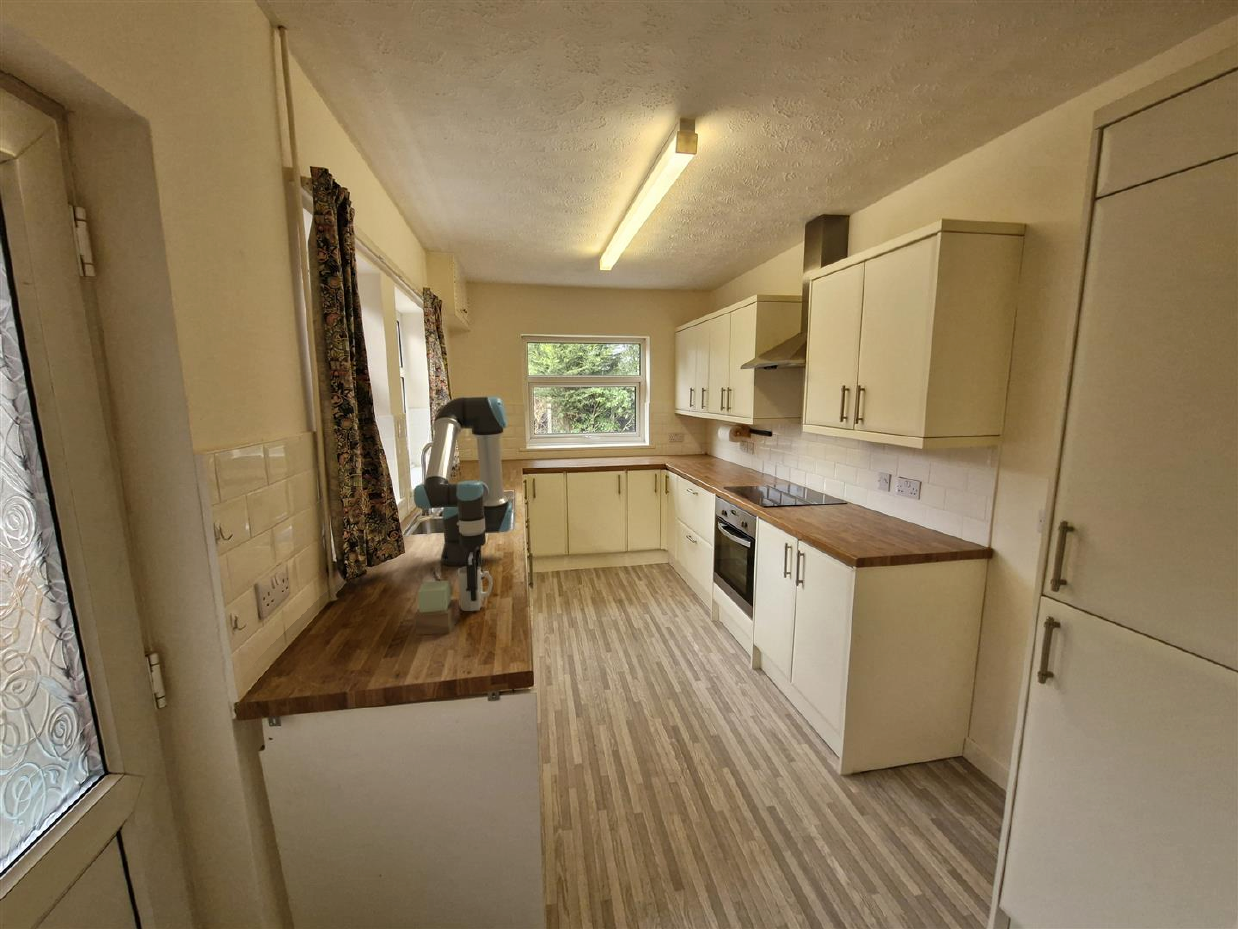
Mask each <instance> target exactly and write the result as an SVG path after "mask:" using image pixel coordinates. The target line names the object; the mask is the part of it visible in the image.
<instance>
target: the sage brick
mask: <svg viewBox="0 0 1238 929" xmlns="http://www.w3.org/2000/svg"><path fill="white" fill-rule="evenodd" d="M451 591H452V590H451V580H450V579H448V580H435V581H434V580H433V581H424V582H423V584H422V585H421V586H420V587H419V589H418V590H417V598H418V610H419V612H420V613H423V612H436V611H446V610H447V608H448V606H449V604H450V602H451V600H452V592H451Z"/></svg>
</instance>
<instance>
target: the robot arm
mask: <svg viewBox="0 0 1238 929" xmlns="http://www.w3.org/2000/svg"><path fill="white" fill-rule="evenodd" d="M507 427H508V420H507V413H506V408H505V404H504V400H503V399H502V398H500V397H496V396H470V397H464V396H463V397H462V396H461V397H457V398H456V397H455V398H454V399H451V400H450V401H449V402H447V403H445V404H444V405H443V406H442V407H441V408H440V409H439V411H438V412H437V413H436V415H435V418H434V421H433V426H432V428H433V430H434V436H433V440H432V443H431V444H432V445H431V450H430V455H429V459H428V464H427V469H426V474H425V478H424V483H423V484H418V485H416V486H415V488H414V490H413V500H414V501H413V502H414V504H415V506H416V507H417V508H418V509H427V510H428V509H429V510H432V509H442V517H441V518H442V525H443V526H442V527H443V539H444V540H443V541H444V544H443V548H442V552H441V554H440V563H441V564H442V565H443V566H449V567H459V566H460V567H461V566H462V567H463V566H465V567H466V570H467V589H466V591H469V601H470V611H469V612H475V611H480V609H481V608H480V605H479V589H478V573H477V567H478V566H479V567H480V568H481V573H484V571H483V562H482V546H483V547H484V546H485V545H486V542H487V541H486V540H487V539H486V535H487V534H499V533H507V532H509V531H510V529H511V525H512V518H513V517H512V516H513V515H512V514H513V503H512V502H509V498H508V497H507V496H505V491H504V478H503V466H502V465H503V464H502V463H503V462H502V451H501V450H502V448H501V436H502V434H503V433H504V429H506V428H507ZM465 429H466V430H471V435H472V436H474V437H475V439H476V448H477V459H478V462H477V463H478V472H479V480H463V481H460V482H458V483H450V482H451V475H452V470H453V464H454V460H455V458H454V457H455V451H456V446H457V439H458V436H459V435H460V434H461V432H462V430H465ZM483 580H485V577H482V578H481V591H482V592H484V590H483ZM482 601H484V597H483V598H482Z"/></svg>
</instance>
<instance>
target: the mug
mask: <svg viewBox="0 0 1238 929" xmlns="http://www.w3.org/2000/svg"><path fill="white" fill-rule="evenodd" d="M477 573H478V589H479V605H480V609H481V608H482V607H483V600H482V598H483V599H484V598H488V597H489V596H490V594H491V592H492V589H493V584H494V583H493V577H492V576H491V575H490V572H489V571H488V570H486V571H485V570H484V571H483V573H481V568H480V567H479V566H478V567H477ZM482 577H484V578H486V579H487V580H488V582H489V583H488V588H487V589H486V591H483V592H482V591H481V580H482V579H481V578H482ZM457 580H458V581H457V582H458V590H459V591H458V592H459V605H460V610H462V611H465V612H471V611H470V601H469V591H466V589H467V570H466V566H462V567H460V568H458V569H457Z"/></svg>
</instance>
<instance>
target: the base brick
mask: <svg viewBox="0 0 1238 929" xmlns="http://www.w3.org/2000/svg"><path fill="white" fill-rule="evenodd" d="M460 615H461V614H460V598H459V599H456V598H455V599H451V602H450V604H449V606H448V608H447V610H446V611H436V612H423V613H420V612H419V609H418V610H417V611H415V613H414V624H415V634H416V635H433V634H435V635H436V634H450V633H451V632H452V630H453V629H454V627H455V626H456V624H457V623H458V621H459V620H460V618H461V616H460Z"/></svg>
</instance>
